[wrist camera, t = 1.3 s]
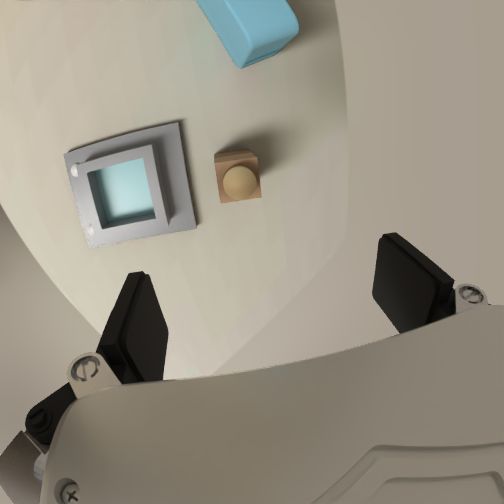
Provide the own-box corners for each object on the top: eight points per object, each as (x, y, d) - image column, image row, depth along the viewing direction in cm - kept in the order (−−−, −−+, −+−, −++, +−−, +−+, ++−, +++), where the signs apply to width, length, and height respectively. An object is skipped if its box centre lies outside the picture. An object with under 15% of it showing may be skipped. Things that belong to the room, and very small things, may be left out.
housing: (67, 152, 28) (54, 157, 25) (178, 122, 29) (174, 122, 26) (92, 245, 34) (82, 257, 31) (196, 225, 35) (195, 236, 32)
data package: (273, 57, 27) (305, 28, 16) (238, 71, 27) (252, 46, 17) (227, -17, 21) (236, -67, 11) (193, -3, 22) (185, -52, 11)
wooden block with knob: (214, 154, 31) (214, 165, 24) (248, 149, 32) (259, 159, 24) (219, 186, 33) (221, 208, 26) (252, 181, 34) (264, 201, 26)
